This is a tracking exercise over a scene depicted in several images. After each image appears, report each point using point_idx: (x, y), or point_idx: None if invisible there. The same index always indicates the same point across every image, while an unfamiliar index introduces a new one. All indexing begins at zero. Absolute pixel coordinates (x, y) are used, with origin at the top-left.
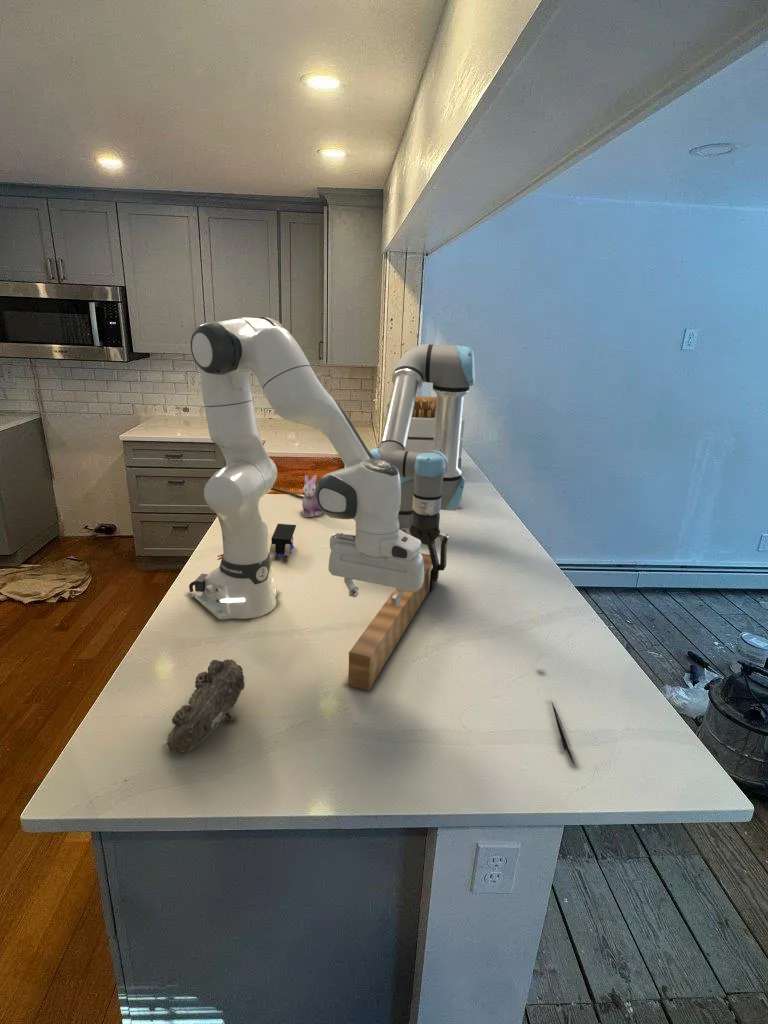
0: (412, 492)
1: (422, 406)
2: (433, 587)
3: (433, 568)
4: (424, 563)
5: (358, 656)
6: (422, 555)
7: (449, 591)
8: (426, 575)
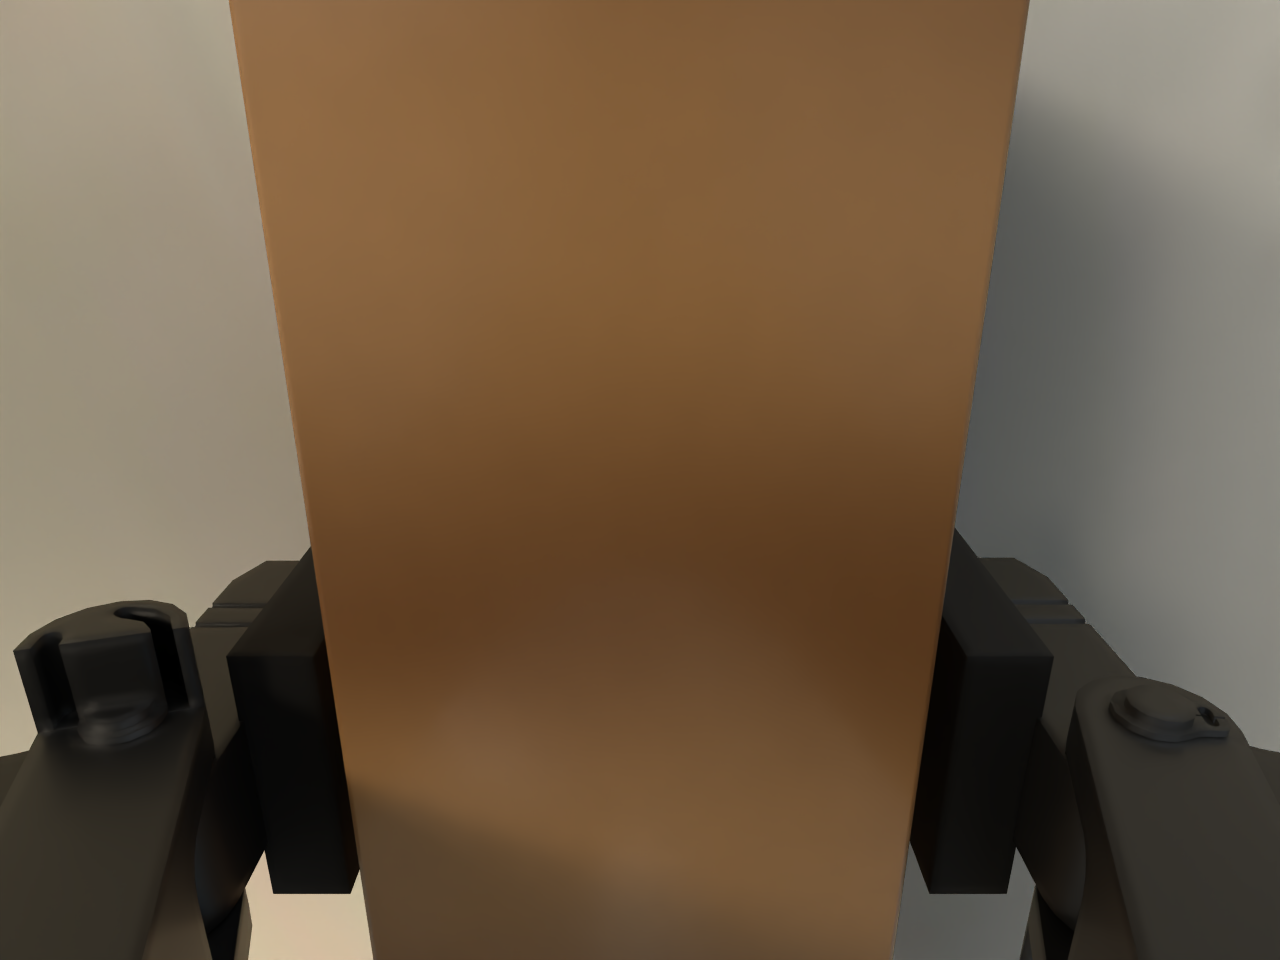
0: None
1: None
2: None
3: (1041, 956)
4: (681, 738)
5: None
6: (351, 24)
7: (1141, 311)
8: None
